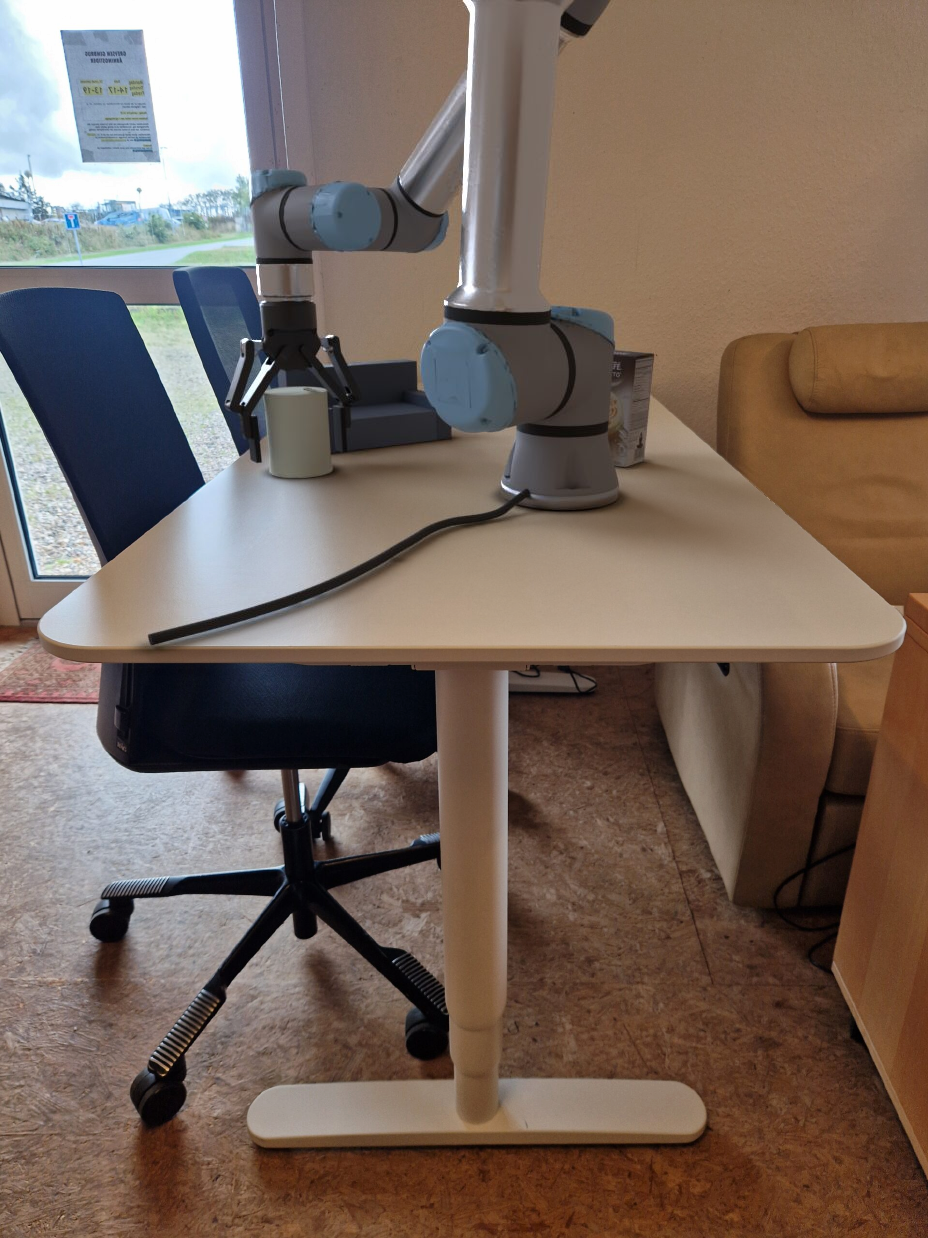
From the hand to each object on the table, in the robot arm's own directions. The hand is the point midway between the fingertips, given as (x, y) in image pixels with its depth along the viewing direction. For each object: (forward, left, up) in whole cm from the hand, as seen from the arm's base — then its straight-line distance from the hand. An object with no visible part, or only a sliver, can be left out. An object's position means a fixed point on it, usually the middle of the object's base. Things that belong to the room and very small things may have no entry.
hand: (300, 456), depth 120 cm
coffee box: (+34, -33, -2) cm, 47 cm away
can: (0, 0, -2) cm, 2 cm away
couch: (+24, +10, -2) cm, 26 cm away
